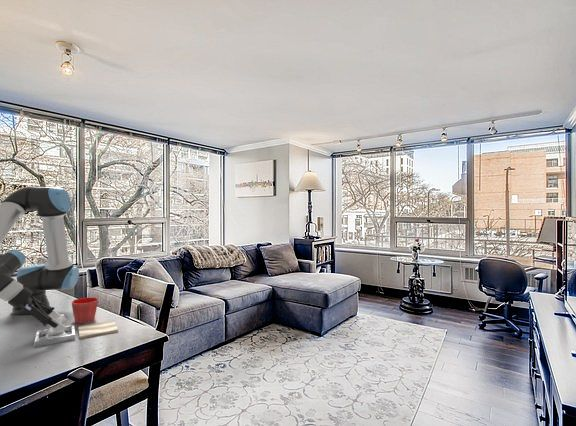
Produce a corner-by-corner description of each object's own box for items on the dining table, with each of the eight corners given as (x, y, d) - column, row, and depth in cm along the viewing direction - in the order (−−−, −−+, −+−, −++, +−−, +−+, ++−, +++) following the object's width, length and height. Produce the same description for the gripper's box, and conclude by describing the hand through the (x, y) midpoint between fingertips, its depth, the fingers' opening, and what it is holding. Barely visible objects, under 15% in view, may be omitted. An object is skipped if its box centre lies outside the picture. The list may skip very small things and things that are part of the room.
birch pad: (78, 328, 142) (78, 326, 142) (113, 322, 150) (113, 320, 150) (79, 338, 130) (79, 336, 130) (118, 331, 138) (118, 329, 138)
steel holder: (36, 335, 133) (36, 330, 133) (74, 329, 140) (74, 324, 140) (34, 346, 122) (34, 341, 122) (75, 339, 130) (75, 334, 130)
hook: (69, 329, 127) (53, 320, 126) (54, 351, 129) (37, 342, 127) (79, 318, 135) (64, 310, 133) (65, 339, 136) (49, 331, 135)
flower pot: (103, 318, 155) (103, 298, 155) (82, 325, 145) (82, 304, 145) (87, 315, 159) (87, 296, 159) (65, 322, 148) (65, 302, 148)
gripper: (10, 295, 132) (56, 325, 141) (1, 310, 113) (55, 343, 122) (27, 280, 135) (71, 311, 144) (21, 293, 116) (72, 327, 125)
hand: (63, 326), depth 133 cm, fingers open, 11 cm apart
